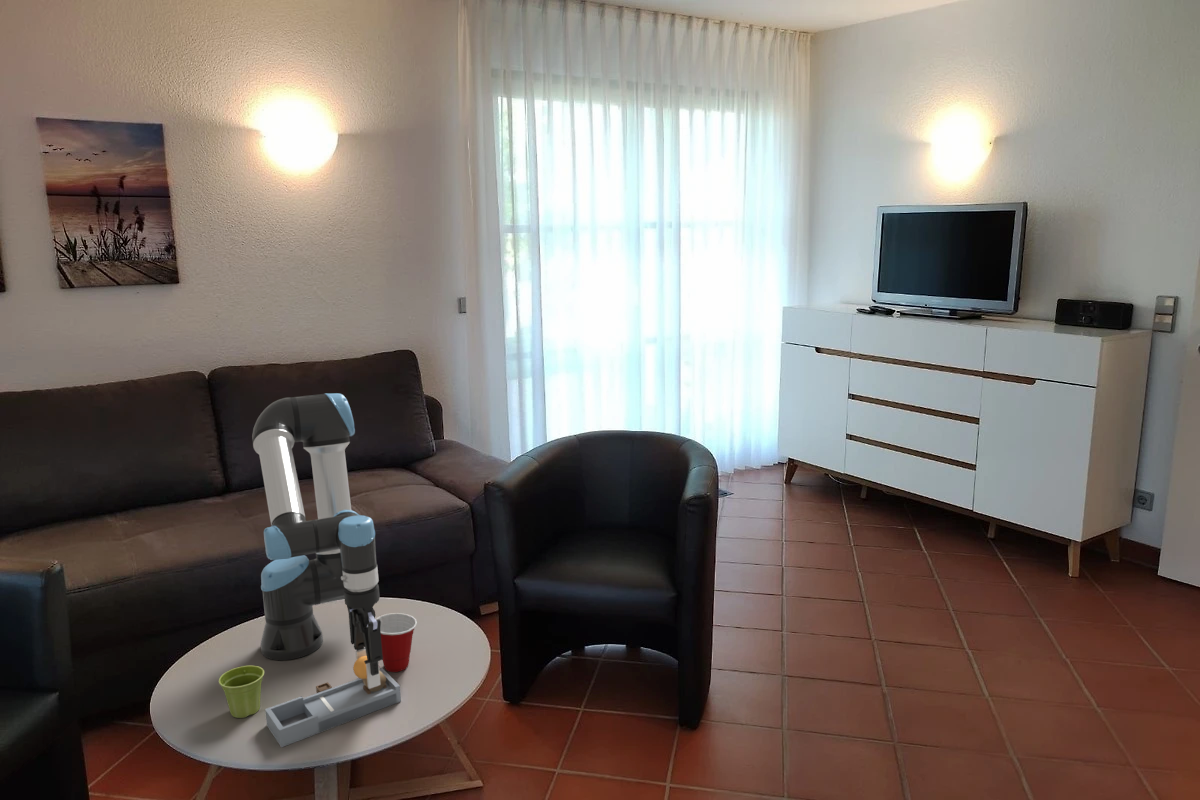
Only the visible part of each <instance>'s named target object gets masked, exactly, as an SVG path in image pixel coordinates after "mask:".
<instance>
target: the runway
mask: <svg viewBox="0 0 1200 800" xmlns="http://www.w3.org/2000/svg"><path fill="white" fill-rule="evenodd" d="M379 670H380V671H381V672H382V673H383V674H384V675H385V677H386V683H385V684H386V687H387V688H382V689H380V690H379V691H376V692H372V691H371V694H367V692H366V691H365V690H364V689H363V685H364V683H363V681H362V679H361V678H358V677H357V678H356V679H352V680H350V681H348V682H344V683H342V684H339V685H335V686H334V687H332V688H330V689H327V690H325V691H322V692H319V693H313V694H311V695H308V696H305V697H303V696H298V697H295V698H292V699H290V700H288V701H283V702H282V703H277V704H275V705H273V706H269V707H267V708H265V709H264V713H265V720H266V726H267V728H268V729H269V731H270V733H271V734H272V735H273V737H274V739H275V741H276V742H277V743H278V744H279V746H280V748H283V747H286V746H289V745H292V744H294V743H297V742H299V741H302V740H305V739H307V738H310V737H313V736H314V735H317V734H321V733H322V732H325V731H328V730H331V729H333V728H336V727H338V726H341V725H343V724H346V723H349V722H352V721H353V720H357V719H359V718H361V717H364V716H367V715H369V714H372V713H374V712H377V711H379V710H382V709H384V708H388V707H390V706H393V705H395V704H397V703H401V702H402V698H401V697H402V696H401V685H400V684H399V683H398V682H397V681H396V680H395V679H394V678H393V677H392V676H391V675H390V674H389V673H388V671H387V670H386V669H385V668H383V667H379Z"/></svg>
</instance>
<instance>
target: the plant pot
mask: <svg viewBox="0 0 1200 800" xmlns="http://www.w3.org/2000/svg"><path fill="white" fill-rule="evenodd" d="M264 675H265V669H264V668H262V667H261V666H257V665H242V666H238V667H235V668H231V669H229V670H227V671H225V672H223V674H221V675H220V677H219V678H218V684H219V686H220V687H221V688H222V690H223V691H224V695H225V698H226V702H227V705H228V709H229V712H230V715H231V716H232V717H234V718H238V719H242V718H247V717H249V716H251V715H255V714H257V712H258V711H259V710H260V708H261V693H262V691H261V690H262V682H263V678H264Z"/></svg>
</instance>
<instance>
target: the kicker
mask: <svg viewBox="0 0 1200 800" xmlns="http://www.w3.org/2000/svg"><path fill="white" fill-rule="evenodd" d="M379 672H380V684H381V685H379V686H376V687H373V688H370V689H369V688H368V683H367V679H362V681H363V683H364V685H363V689H364V690H365V691H366V692H367V694H371V691H372V692H376V691H379V690H380V689H382V688H387V687H386V684H385V683H386V677H385V675H384V674H383V673H382V672H381V671H380V670H379Z"/></svg>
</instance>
